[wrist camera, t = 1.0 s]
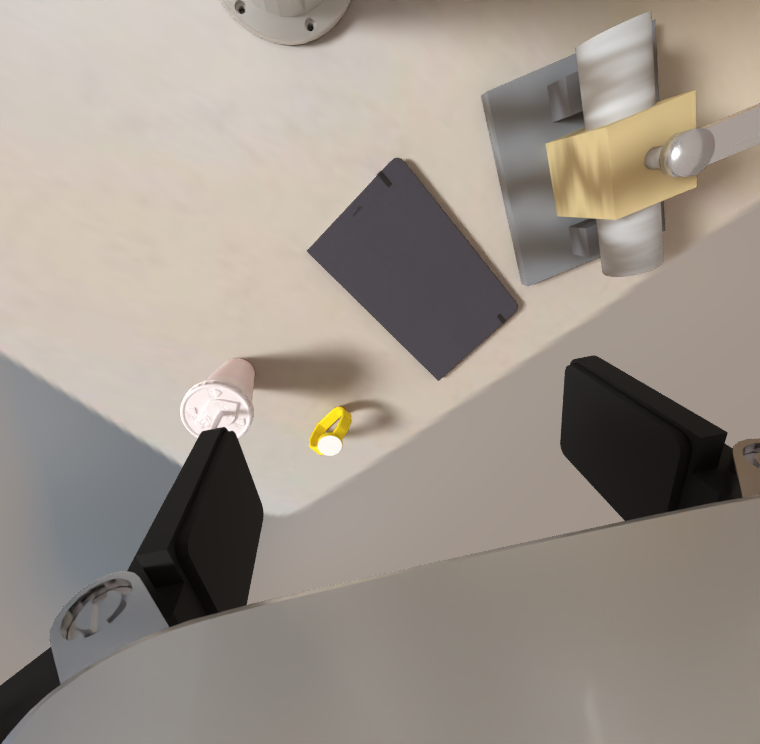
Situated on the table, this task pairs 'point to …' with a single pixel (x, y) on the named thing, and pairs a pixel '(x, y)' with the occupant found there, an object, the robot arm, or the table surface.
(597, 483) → the robot arm
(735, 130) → the lever
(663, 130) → the valve stand
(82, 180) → the table surface
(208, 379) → the smoothie
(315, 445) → the watch
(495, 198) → the table surface
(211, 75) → the table surface
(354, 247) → the notebook
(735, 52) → the table surface
